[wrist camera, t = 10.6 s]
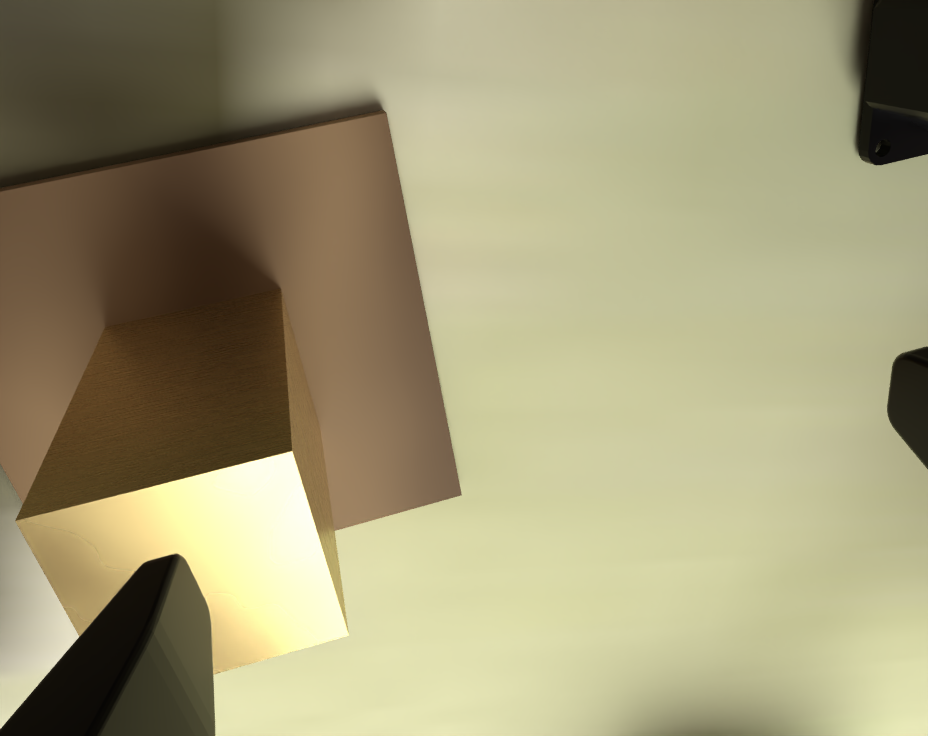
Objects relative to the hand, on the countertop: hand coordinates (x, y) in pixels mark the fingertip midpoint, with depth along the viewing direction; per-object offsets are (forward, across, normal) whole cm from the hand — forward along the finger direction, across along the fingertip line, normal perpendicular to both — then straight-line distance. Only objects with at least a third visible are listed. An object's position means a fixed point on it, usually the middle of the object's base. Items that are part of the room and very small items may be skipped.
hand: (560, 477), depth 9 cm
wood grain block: (+12, +6, +3) cm, 14 cm away
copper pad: (+12, +6, +3) cm, 14 cm away
